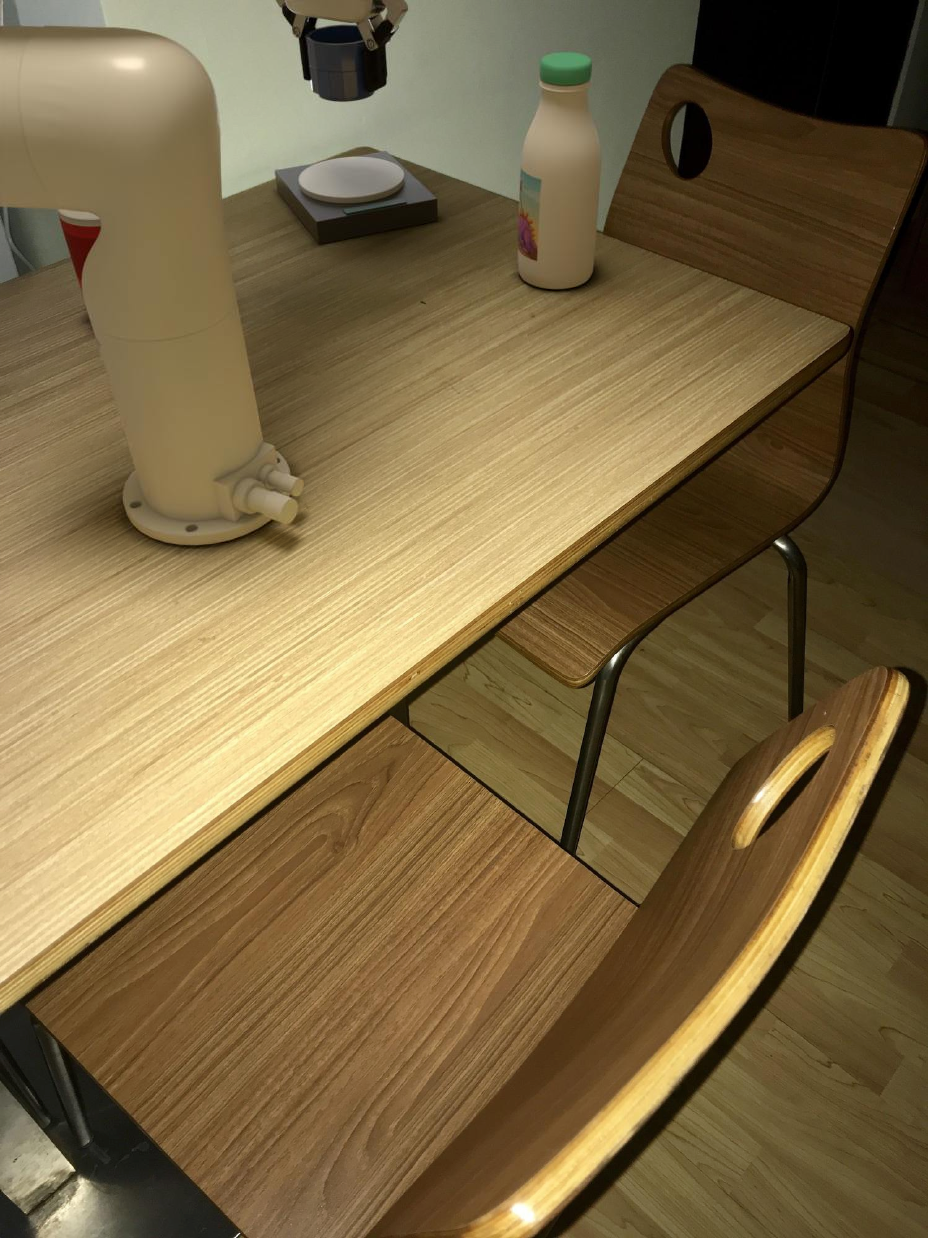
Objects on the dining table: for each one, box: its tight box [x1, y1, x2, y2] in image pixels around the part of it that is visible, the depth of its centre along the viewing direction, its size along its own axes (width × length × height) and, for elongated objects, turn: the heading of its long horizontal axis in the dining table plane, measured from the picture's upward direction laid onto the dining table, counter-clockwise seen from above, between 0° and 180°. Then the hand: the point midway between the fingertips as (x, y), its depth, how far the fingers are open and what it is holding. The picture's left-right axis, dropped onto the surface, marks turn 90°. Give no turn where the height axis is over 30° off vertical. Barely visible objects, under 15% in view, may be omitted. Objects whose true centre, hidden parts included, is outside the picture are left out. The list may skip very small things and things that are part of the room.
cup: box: [305, 24, 378, 103], centre depth 104 cm, size 7×7×6 cm
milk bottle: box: [517, 51, 602, 290], centre depth 95 cm, size 8×8×20 cm
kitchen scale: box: [274, 150, 439, 245], centre depth 114 cm, size 16×14×3 cm
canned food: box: [56, 209, 101, 299], centre depth 93 cm, size 8×8×11 cm
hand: (345, 81), depth 105 cm, fingers closed on cup, 7 cm apart
